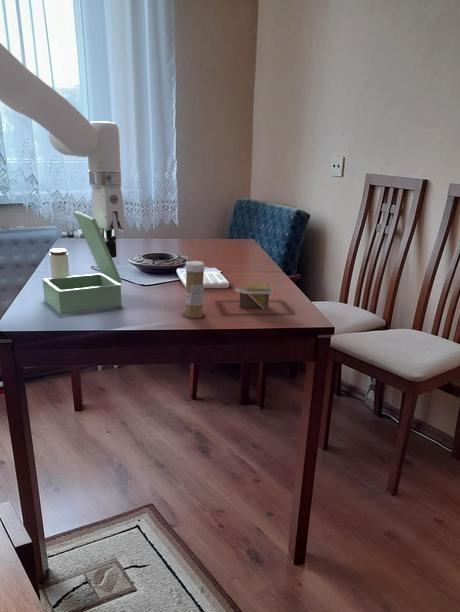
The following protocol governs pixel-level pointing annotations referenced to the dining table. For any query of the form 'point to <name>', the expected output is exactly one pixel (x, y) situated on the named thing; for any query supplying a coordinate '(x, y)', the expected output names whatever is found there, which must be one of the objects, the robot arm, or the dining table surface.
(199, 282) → the sprinkles bottle
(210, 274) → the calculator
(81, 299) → the chest
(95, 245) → the chest lid
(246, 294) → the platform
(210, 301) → the dining table surface
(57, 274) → the jar
